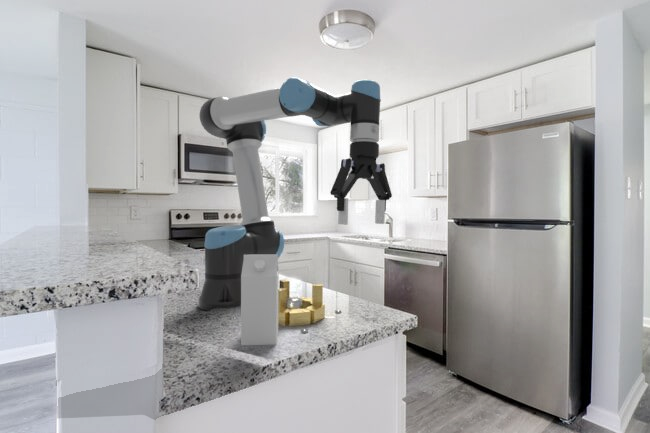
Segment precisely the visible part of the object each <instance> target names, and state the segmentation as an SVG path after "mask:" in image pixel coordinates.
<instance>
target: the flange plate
mask: <svg viewBox="0 0 650 433" xmlns="http://www.w3.org/2000/svg"><path fill="white" fill-rule="evenodd" d="M290 297H291V298H287V299H286V309H289V310H292V309H302V298H300V297H299V296H290ZM334 312H335V314H341V313H342V310H341V309H335V311H334ZM325 318H326V319H335V316H326V315H325V316H324V318H323V319H325ZM300 333H301V334H308V333H309V329H308V328H302V329H300Z"/></svg>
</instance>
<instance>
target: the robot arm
mask: <svg viewBox="0 0 650 433" xmlns="http://www.w3.org/2000/svg"><path fill="white" fill-rule="evenodd" d="M381 101H382V99H381V86H380V84H379V82H377V81H375V80H372V79H360V80H359V79H358V80H356V81H354V82H353V83H352V84H351V89H350V92H348V93H344V94H337V95H334V94H332V93H330V92H329V91H328V90H327V91H326V90H324V89H322V88H320V87H318V86H316V85H314V84H312V83H311V82H309V81H308V80H305V79H301V78H299V77H293V76H292V77H289V78H288V79H286V80H285V81H284V82H283V83H282V85H281V86H280V87H277V88H271V89H266V90H263V91H257V92H253V93H249V94H243V95H239V96H235V97H231V98H228V97H225V96H217V97H213V98H210V99H208V100H206V101H205V102H203V104H202V106H201V107H200V109H199V120H200V121H199V122H200V123H201V126H202V128H203V129H204V130H205V132H207V133H208V134H210V135H212V137H213V136H214V137H216V138H220V139H224V140H225V142H226V148H227V149H228V150H229V151H230V152H231V153H232V157H233V164H234V170H235V176H236V183H237V185H236V186H237V191H238V197H239V198H238V199H239V206H240V212H241V217H242V218H241V219H242V221H241V222H240V224H239V225H237V224H236V225H228V226H226V225H224V226H219V227H214V228H211V229H209V230H207V232H206V233H205V237H204V239H205V240H204V244H203V245H204V282H203V286H202V289H201V292H200V296H199V297H198V308H199V309H200V310H203V311H207V312H210V311H213V310H215V309H224V308H225V309H226V308H228V309H229V308H235V307H241V274H242V267H243V261H244V255H278V259H279V258H280V257H281V255H282V253H283V251H284V248H285V238H284V235H283V233H282V232H281V231H280V230H279V229H277V227H275V221H274V220H273V219H271V217H270V216H269V213H268V206H267V199H266V198H267V197H266V192H265V191H266V190H265V186H264V180H263V179H264V178H263V174H262V166H261V161H260V155H259V149H260V148H261V147H262V144H263V143H262V142H263V141H264V140H265V138H266V137H265V135H266V133H267V126H266V125H267V124H266V122H265V121H268V120H269V121H270V120H277V119H282V118H289V117H291V118H292V117H296V116H306V117H309V118H311V119H312V121H313V122H315V125H317V126H318V127H332V126H336V125H343V124H348V123H350V134H349V135H350V136H349V141H350V142H351V143H350V144H349V157H350V158H342V159H341V160H340V161H341V162H340V163H341V164H340V168H339V170H338V173H337V175H336V178H335V180H334V183H333V185H332V187H331V190H330V195H331V196H333V197H334V199H336V211H337V213H338V215H337V216H338V218H337V219H338V220H337V221H338V222H337V225H345V226H347V225H348V224H349V197H348V198H347V196H348V195H349V193H350V191H351V189H353V187H354V185H355V184H356V182H357V180H358V179H362V180H366V181H367V182H369V184H370V186H371V188H372V190H373V192H374V193H375V196H376V197H377V199H375V215H374V218H375V220H374V221H375V222H374V224H376V225H377V224H378V225H384V224H385V221H386V220H385V219H386V218H385V216H386V210H387V201H390V198H392V197H393V193H392V190H391V188H390V183H389V181H388V180H389V179H388V178H387V174H386V165H385V163H384V162H383V163H382V162H380V163H377V159H378V158H379V155H380V144H379V143H378V142H379V140H380V115H381V114H380V112H381V111H380V110H381Z"/></svg>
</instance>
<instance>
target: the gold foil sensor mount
mask: <svg viewBox="0 0 650 433" xmlns="http://www.w3.org/2000/svg"><path fill="white" fill-rule="evenodd" d="M290 286H291V285H290V280H287V279H281V280H280V279H279V280H278V326H279V325H280V326H285V327H286V326H289V327H295V326H305V325H311V324H315V323H317V322H319V321H321V320H323V319H325V318H324V316H325V317H326V315H325V311H326V310H325V307H326V305H325V303H324V302H323V295H324V294H323V288H324V287H323V283H313V284H312V285H311V286H312V288H311V290H312V294H311V296H312V297H306V296H300V297H299V298H302V309H292V310H289V309H286V299H287V298H291V297H292V296H290Z"/></svg>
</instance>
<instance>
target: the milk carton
mask: <svg viewBox="0 0 650 433" xmlns="http://www.w3.org/2000/svg"><path fill="white" fill-rule="evenodd" d="M278 289H279V258H278V255H244V261H243V267H242V274H241V306H240V346H265V345H266V346H268V345H271V346H272V345H277V342H278V336H279V325H278Z"/></svg>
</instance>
